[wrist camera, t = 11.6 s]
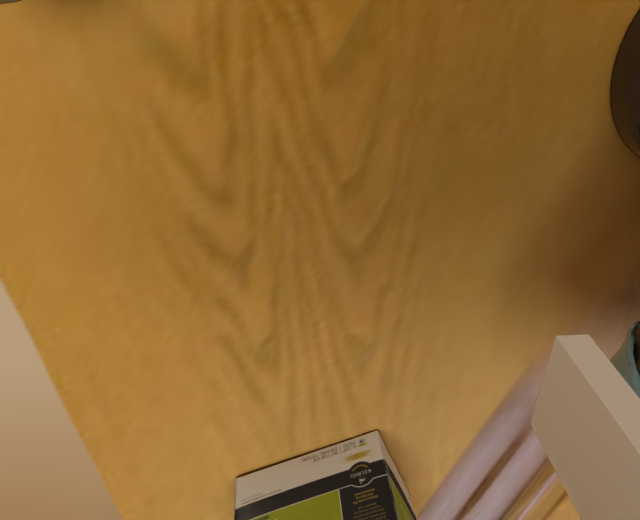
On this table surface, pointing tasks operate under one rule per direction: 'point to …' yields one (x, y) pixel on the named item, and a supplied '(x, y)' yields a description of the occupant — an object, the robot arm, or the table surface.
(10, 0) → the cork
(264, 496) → the tea box
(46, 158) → the table surface
